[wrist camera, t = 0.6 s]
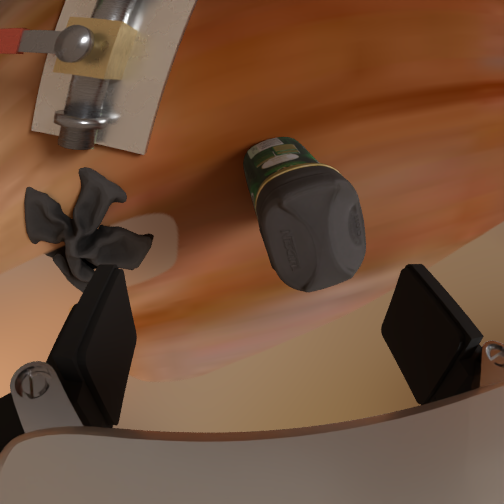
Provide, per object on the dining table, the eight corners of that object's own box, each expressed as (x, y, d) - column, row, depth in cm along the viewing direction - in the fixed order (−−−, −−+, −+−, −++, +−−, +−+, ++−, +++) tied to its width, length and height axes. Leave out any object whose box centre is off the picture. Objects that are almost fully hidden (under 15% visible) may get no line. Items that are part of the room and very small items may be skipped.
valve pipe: (84, -31, 22) (60, -48, 15) (205, -18, 25) (202, -40, 19) (35, 134, 32) (4, 146, 25) (144, 158, 35) (128, 174, 29)
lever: (106, 30, 21) (94, 25, 19) (94, 65, 23) (82, 64, 20) (-2, 27, 18) (-18, 25, 15) (-11, 57, 20) (-27, 58, 17)
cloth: (9, 201, 36) (-14, 218, 31) (102, 137, 34) (82, 146, 29) (85, 315, 47) (73, 341, 41) (180, 279, 45) (175, 306, 39)
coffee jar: (318, 199, 40) (380, 282, 24) (259, 218, 41) (285, 314, 24) (299, 127, 35) (364, 165, 19) (234, 147, 36) (246, 202, 20)
